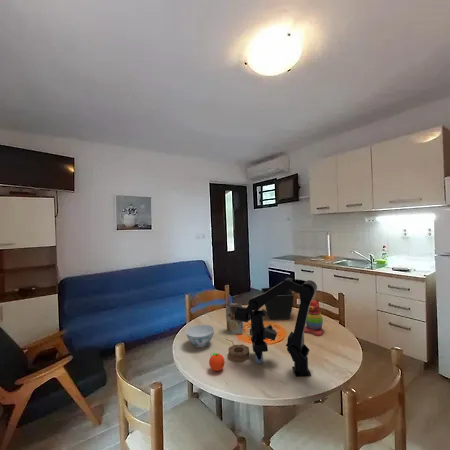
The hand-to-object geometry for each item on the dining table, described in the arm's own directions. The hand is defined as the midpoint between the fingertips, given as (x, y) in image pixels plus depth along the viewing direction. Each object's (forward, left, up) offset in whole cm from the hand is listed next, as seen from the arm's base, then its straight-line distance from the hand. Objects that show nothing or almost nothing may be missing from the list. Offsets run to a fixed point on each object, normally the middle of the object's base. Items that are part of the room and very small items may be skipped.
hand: (258, 357), depth 119 cm
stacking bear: (+29, -35, -2) cm, 46 cm away
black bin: (+54, -19, -2) cm, 57 cm away
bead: (+6, +9, -2) cm, 11 cm away
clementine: (-4, +20, -2) cm, 20 cm away
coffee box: (+33, +10, -2) cm, 35 cm away
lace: (+18, +13, -2) cm, 22 cm away
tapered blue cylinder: (0, 0, -2) cm, 2 cm away
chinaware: (+19, +29, -2) cm, 35 cm away
